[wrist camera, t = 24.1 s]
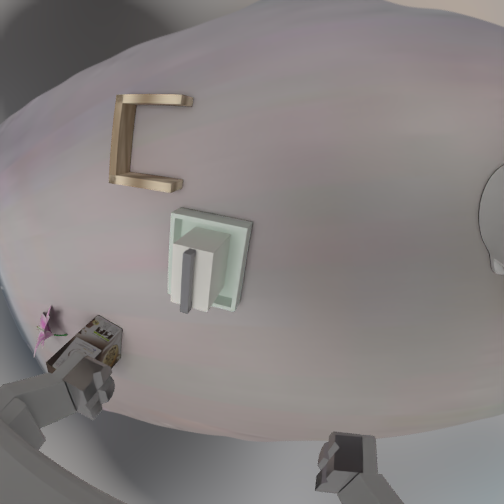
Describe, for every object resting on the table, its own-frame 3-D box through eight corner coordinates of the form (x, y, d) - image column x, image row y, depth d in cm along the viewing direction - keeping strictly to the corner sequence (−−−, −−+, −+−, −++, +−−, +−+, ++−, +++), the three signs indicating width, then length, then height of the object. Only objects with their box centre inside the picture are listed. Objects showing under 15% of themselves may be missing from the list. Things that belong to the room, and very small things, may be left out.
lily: (72, 305, 55) (32, 308, 47) (78, 358, 55) (40, 365, 47) (56, 301, 62) (22, 303, 54) (61, 348, 61) (28, 352, 53)
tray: (252, 222, 39) (247, 228, 37) (239, 301, 44) (234, 312, 41) (180, 207, 41) (171, 212, 38) (176, 284, 45) (167, 293, 43)
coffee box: (97, 313, 52) (44, 361, 38) (123, 328, 52) (73, 382, 37) (96, 344, 56) (52, 391, 41) (121, 359, 56) (78, 410, 41)
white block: (230, 234, 40) (208, 258, 32) (223, 286, 43) (202, 319, 35) (195, 226, 41) (166, 248, 33) (191, 278, 44) (165, 307, 36)
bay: (193, 97, 35) (182, 94, 32) (182, 188, 40) (170, 192, 37) (130, 96, 36) (116, 94, 33) (122, 179, 41) (108, 182, 38)
